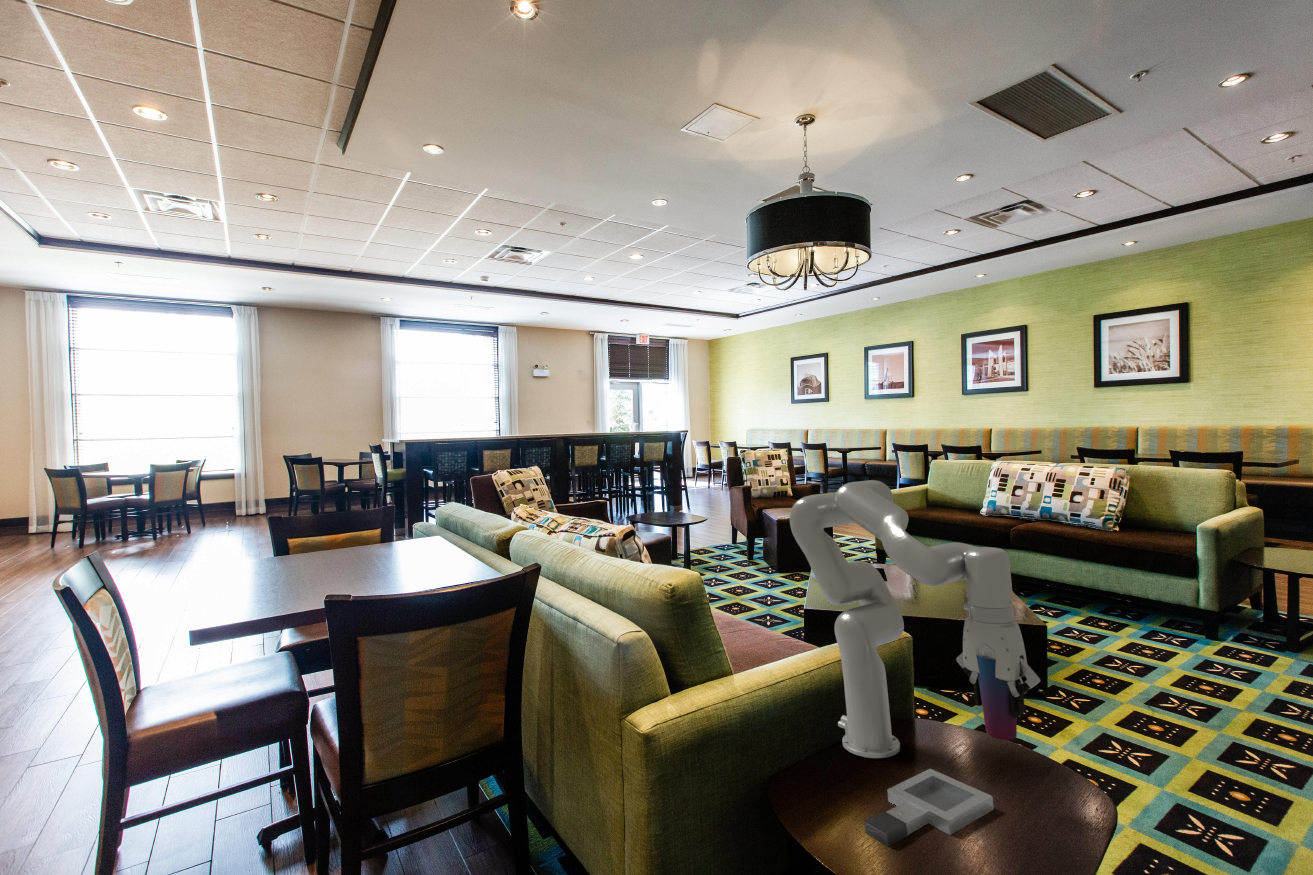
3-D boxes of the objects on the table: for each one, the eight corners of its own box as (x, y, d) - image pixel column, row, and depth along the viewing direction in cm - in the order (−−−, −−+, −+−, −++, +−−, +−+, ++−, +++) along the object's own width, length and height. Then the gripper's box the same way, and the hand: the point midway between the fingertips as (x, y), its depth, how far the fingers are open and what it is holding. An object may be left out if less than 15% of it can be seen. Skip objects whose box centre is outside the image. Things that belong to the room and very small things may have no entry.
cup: (1028, 742, 108) (1021, 659, 108) (987, 741, 109) (981, 659, 110) (1014, 725, 115) (1007, 647, 115) (975, 725, 116) (969, 647, 116)
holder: (931, 780, 121) (930, 768, 121) (993, 809, 110) (992, 795, 110) (848, 822, 109) (847, 808, 110) (908, 859, 98) (907, 844, 98)
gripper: (937, 608, 118) (945, 700, 118) (1027, 627, 103) (1036, 731, 103) (960, 602, 122) (968, 690, 121) (1050, 619, 107) (1059, 720, 106)
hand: (999, 708), depth 112 cm, fingers closed on cup, 6 cm apart
